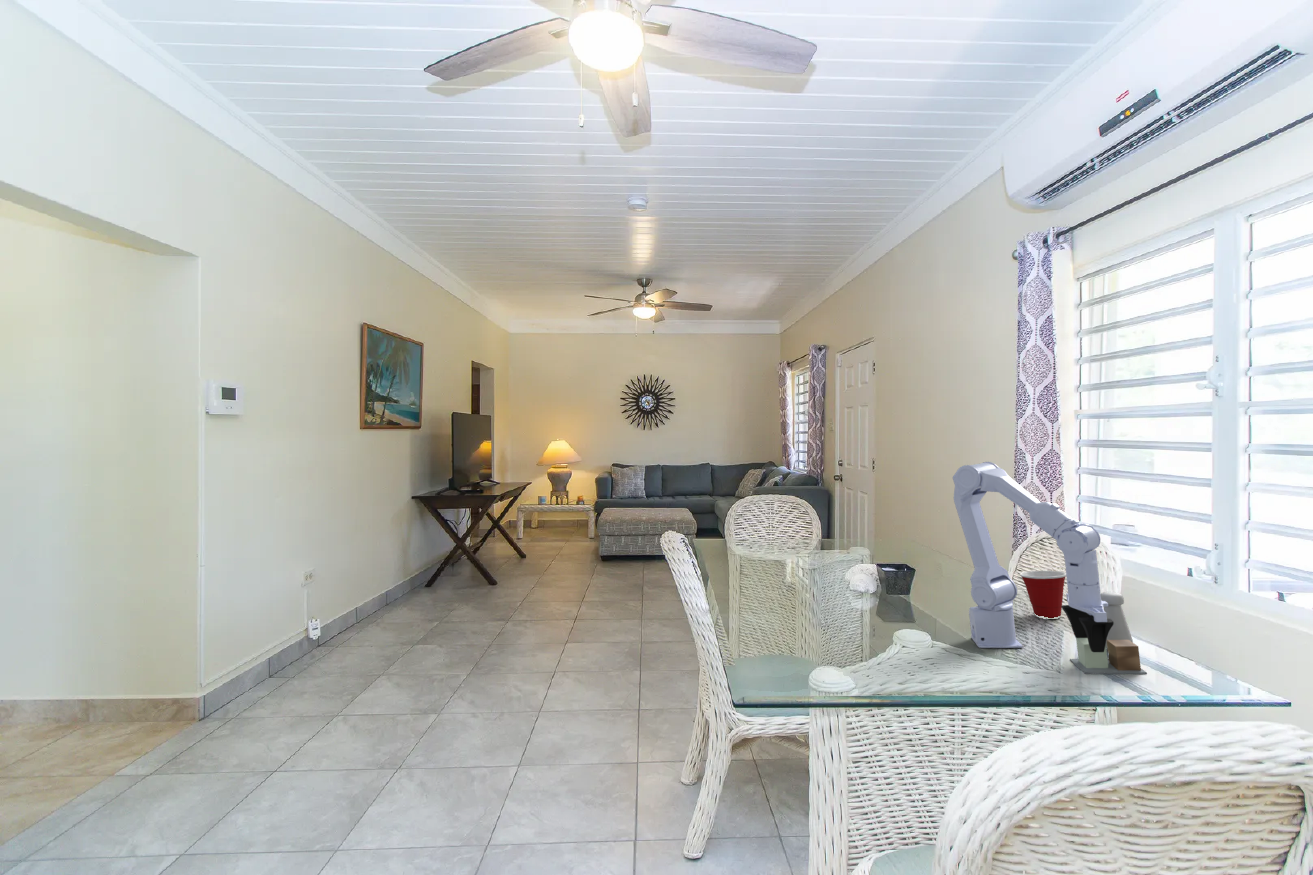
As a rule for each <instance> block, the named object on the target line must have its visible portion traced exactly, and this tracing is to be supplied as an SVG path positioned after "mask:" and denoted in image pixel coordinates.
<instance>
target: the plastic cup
mask: <svg viewBox="0 0 1313 875" xmlns="http://www.w3.org/2000/svg"><path fill="white" fill-rule="evenodd" d="M1019 576H1020V577H1021V578H1022V581H1023V583H1024V585H1025V589H1026V591H1027V592H1026V593H1027V596H1028V598H1029V601H1030V604H1031V606H1032V607H1031V608H1032V611H1033V613H1035V614H1036V615H1038V616H1044V617H1048V618H1054V617H1058V616H1061V615H1062V610H1063V609H1062V607H1061V606H1063V600H1064V599H1063V598H1064V586H1065V581H1066V578H1067V577H1066V571H1065V572H1064V571H1058V570H1030V571H1029V570H1028V571H1023V572H1020V573H1019ZM1035 614H1034V615H1035Z"/></svg>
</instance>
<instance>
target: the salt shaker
mask: <svg viewBox="0 0 1313 875" xmlns="http://www.w3.org/2000/svg"><path fill="white" fill-rule="evenodd" d="M1100 593H1101V601H1105V602H1107V603H1108V606H1107V607H1103V608H1104V611H1105V612H1106V615H1107V619H1111V620H1112V621H1113V622H1114V624H1113V626H1112V627H1111V629H1110V631H1109V633H1108V636H1107V640H1130V641H1131V642H1133V643H1134V641H1133V636H1132V634H1131V631H1130V628H1129V625H1128V621H1127V618H1126V616H1125V613H1124V609H1123V606H1122V605H1124V603H1125V599H1124V595H1123V594H1121V593H1120V592H1115V591H1104V592H1100ZM1107 640H1106V651H1108V648H1107Z"/></svg>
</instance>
